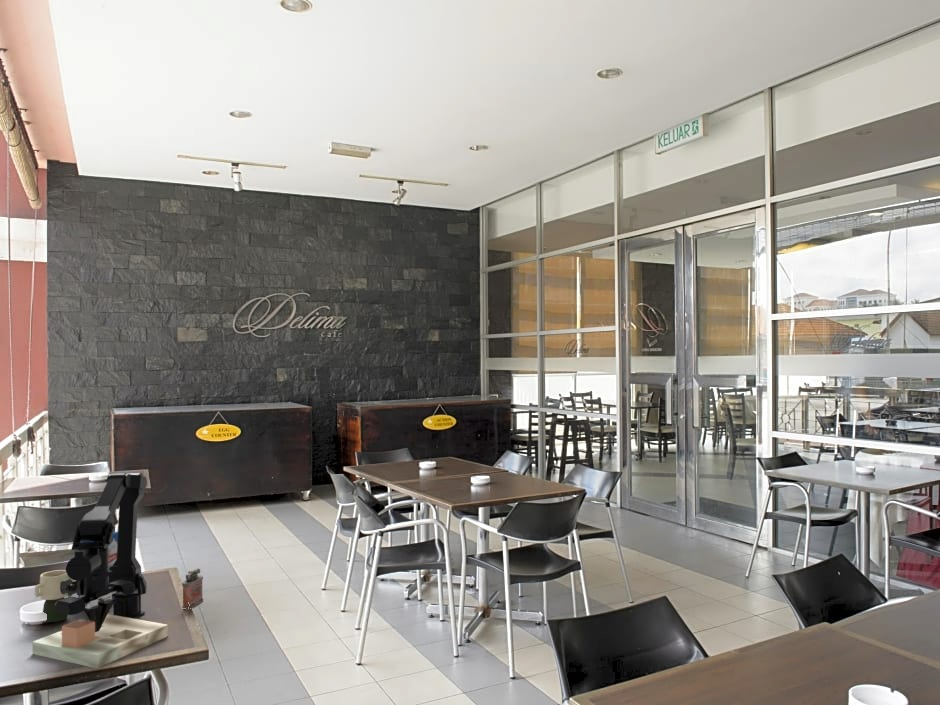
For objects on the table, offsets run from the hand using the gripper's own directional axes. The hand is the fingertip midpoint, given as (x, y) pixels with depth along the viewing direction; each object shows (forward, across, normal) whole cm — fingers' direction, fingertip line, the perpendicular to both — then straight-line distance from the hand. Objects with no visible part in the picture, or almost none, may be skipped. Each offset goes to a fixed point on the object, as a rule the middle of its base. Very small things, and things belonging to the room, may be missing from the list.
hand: (96, 631), depth 181 cm
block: (+1, +5, 0) cm, 5 cm away
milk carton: (+4, -24, -28) cm, 37 cm away
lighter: (+4, -33, -1) cm, 33 cm away
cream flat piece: (+4, -2, 0) cm, 4 cm away
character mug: (+4, -9, -27) cm, 29 cm away
